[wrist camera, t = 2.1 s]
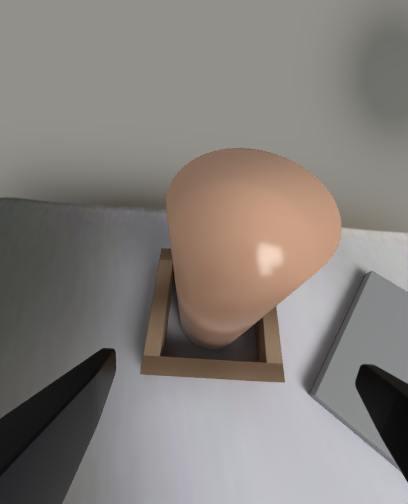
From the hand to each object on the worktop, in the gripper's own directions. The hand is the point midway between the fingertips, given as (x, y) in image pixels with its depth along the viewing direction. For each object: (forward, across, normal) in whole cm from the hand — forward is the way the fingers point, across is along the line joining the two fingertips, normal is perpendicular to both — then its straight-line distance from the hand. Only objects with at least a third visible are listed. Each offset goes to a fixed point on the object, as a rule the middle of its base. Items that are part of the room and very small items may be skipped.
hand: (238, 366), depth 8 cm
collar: (+12, 0, +5) cm, 13 cm away
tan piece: (+13, 0, +4) cm, 13 cm away
